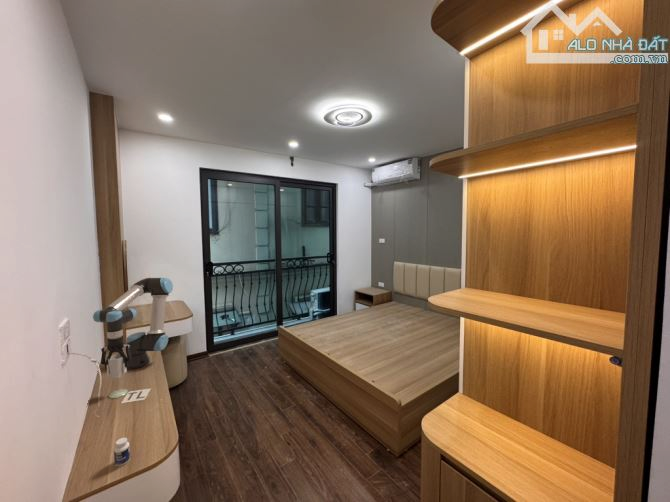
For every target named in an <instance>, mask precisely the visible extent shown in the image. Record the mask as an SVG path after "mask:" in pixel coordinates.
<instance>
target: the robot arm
mask: <svg viewBox="0 0 670 502" xmlns="http://www.w3.org/2000/svg"><path fill="white" fill-rule="evenodd" d="M173 287H174V284H173V281H172V280H171V279H170V278H168V277H146V278H143V279H140V280H138V281H136V282H135V283H133V285H130V288H129V289H128V290H127V291H125V292H124V293H123V294H122V295H121V296H119V297H118V298H117V299H115V300H114V301H113V302H112V303H110V304H108V306H106V308H104V309H99V310H96V311H95V312H94V313H93V315H92V319H93V321H94V322H95V323H106V338H107V339H106V340H107V343H106V344H107V346H103V347H102V348H101V349H100V350H101V357H100V358H101V359H100V365H101V366H102V365H104V371H106V374H107V376H110V369H109V363H108V359H109V360H110V358H111V356H113V354H114V353H117V354H120V355H121V357H123V361H124V363H123V374H126V373H127V372H128V371H127V370H134V369H139V368H143V367H145V366H147V365H148V364H149V363H150V357H149V355H148V352H161V351H163V350H164V349H165V348H166V347H167V345H168V342H169V335H168V334H166V331H165V330H164V326H165V314H166V304H167V303H166V302H167V298H168V297H169V296H170V295H169V294H170V293H172V291H173V290H174V289H173ZM144 294H150V297H152V302H151V303H152V305H151V314H150V324H149V331H148V332H145V331H139V332H134V333H132V334H130V335H128V336H127V337H126V341H125V342H126V343H124V336H123V335H124V330H123V329H124V327H123V326H124V324H126V323H129V322H132V321H133V320H135V319H136V318H137V315H138V314H137V311H136V309H134V308H130V307H129V308H127V309H126V307H128V306H129V305H130V304H131V303H132V302H133V301H135V300H136V299H137V298H138V297H142V296H143V295H144ZM123 348H124V349H123ZM107 350H108V351H109V352H108V354H107ZM124 350H125V352H124ZM106 355H107V357H106Z"/></svg>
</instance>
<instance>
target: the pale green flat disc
mask: <svg viewBox="0 0 670 502" xmlns="http://www.w3.org/2000/svg"><path fill="white" fill-rule="evenodd" d="M128 392H129V391H128V389H126V388H120V389H117V390H114V391H112V392H110V393H109V394H108V398H109V399H112V400H113V399H118V398H122V397H123V396H126V395H127V393H128Z"/></svg>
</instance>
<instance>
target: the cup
mask: <svg viewBox="0 0 670 502" xmlns="http://www.w3.org/2000/svg"><path fill="white" fill-rule="evenodd" d="M123 363H124V361H123V357H121V355H120V354H119V353H117V354H112V356H111V358H110V360H109V359H108V364H109V369H110V375H109V376H110V379H113V380H114V379H118V378H122V377H123V376H124V374H125V373H124V374H123Z"/></svg>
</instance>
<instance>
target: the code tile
mask: <svg viewBox="0 0 670 502" xmlns="http://www.w3.org/2000/svg"><path fill="white" fill-rule="evenodd" d="M151 389H152V388H145V389H144V388H143V389H136V390H132V391H128V392H127V394H125V395H124V396H125V397H124V398H123V399H122V401H121V403H120V404H124V403H126V404H127V403H130V402H131V403H132V402H137V401H144V400H146V399H147V397H148V395H149V393H150V391H151Z"/></svg>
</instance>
